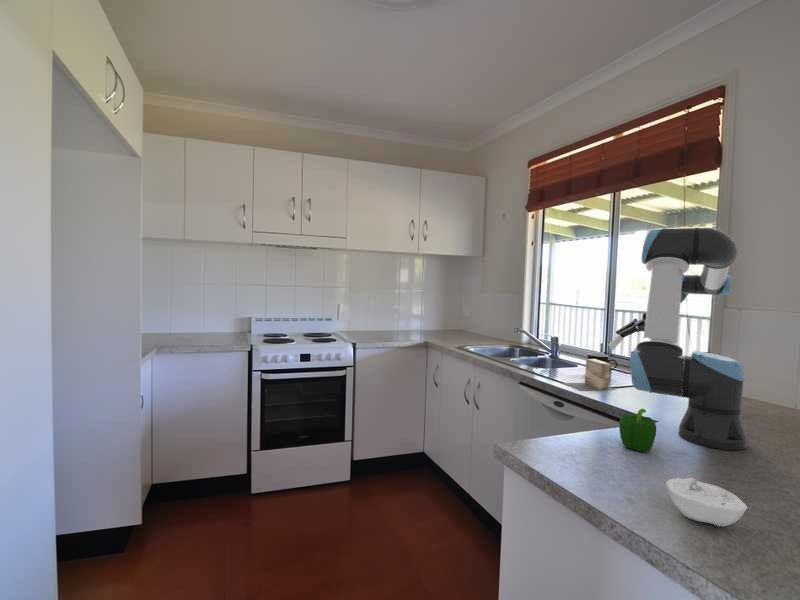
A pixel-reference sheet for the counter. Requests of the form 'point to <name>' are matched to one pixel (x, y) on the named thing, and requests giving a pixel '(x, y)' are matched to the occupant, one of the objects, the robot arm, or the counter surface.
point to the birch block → (597, 373)
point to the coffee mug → (601, 358)
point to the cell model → (705, 502)
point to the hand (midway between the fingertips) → (621, 350)
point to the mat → (585, 387)
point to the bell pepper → (637, 431)
